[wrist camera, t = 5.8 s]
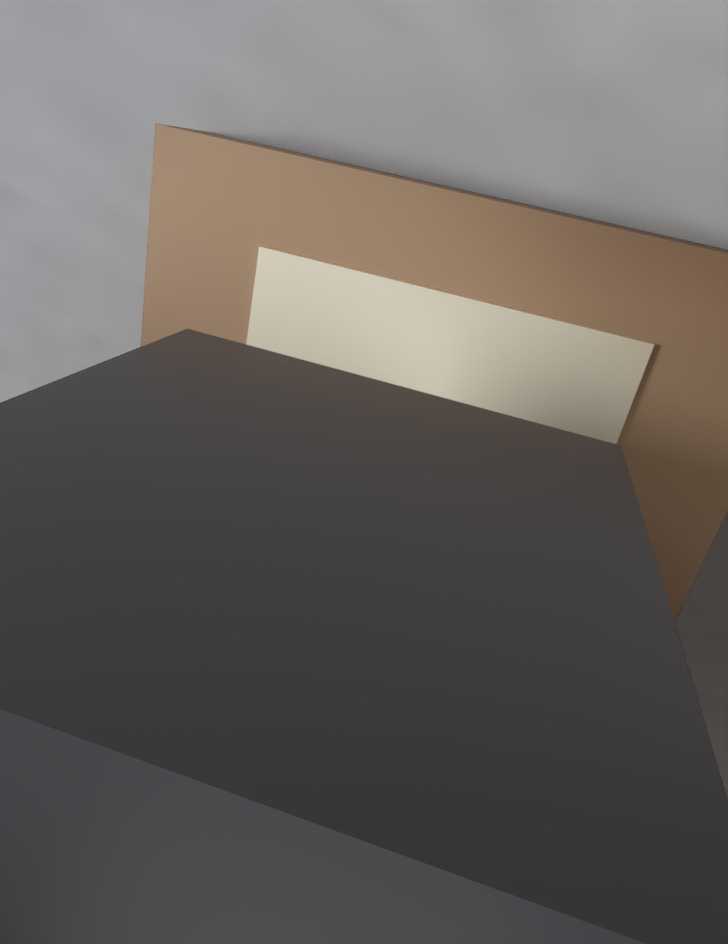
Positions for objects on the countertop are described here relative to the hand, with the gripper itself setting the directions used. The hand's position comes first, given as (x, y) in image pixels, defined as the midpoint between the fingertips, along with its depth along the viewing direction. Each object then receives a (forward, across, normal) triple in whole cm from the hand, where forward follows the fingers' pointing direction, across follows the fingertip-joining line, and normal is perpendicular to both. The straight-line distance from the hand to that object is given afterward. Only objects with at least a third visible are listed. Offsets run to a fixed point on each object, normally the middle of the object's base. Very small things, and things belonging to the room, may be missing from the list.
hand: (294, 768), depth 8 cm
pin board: (+6, 0, 0) cm, 6 cm away
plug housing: (+1, 0, 0) cm, 1 cm away
